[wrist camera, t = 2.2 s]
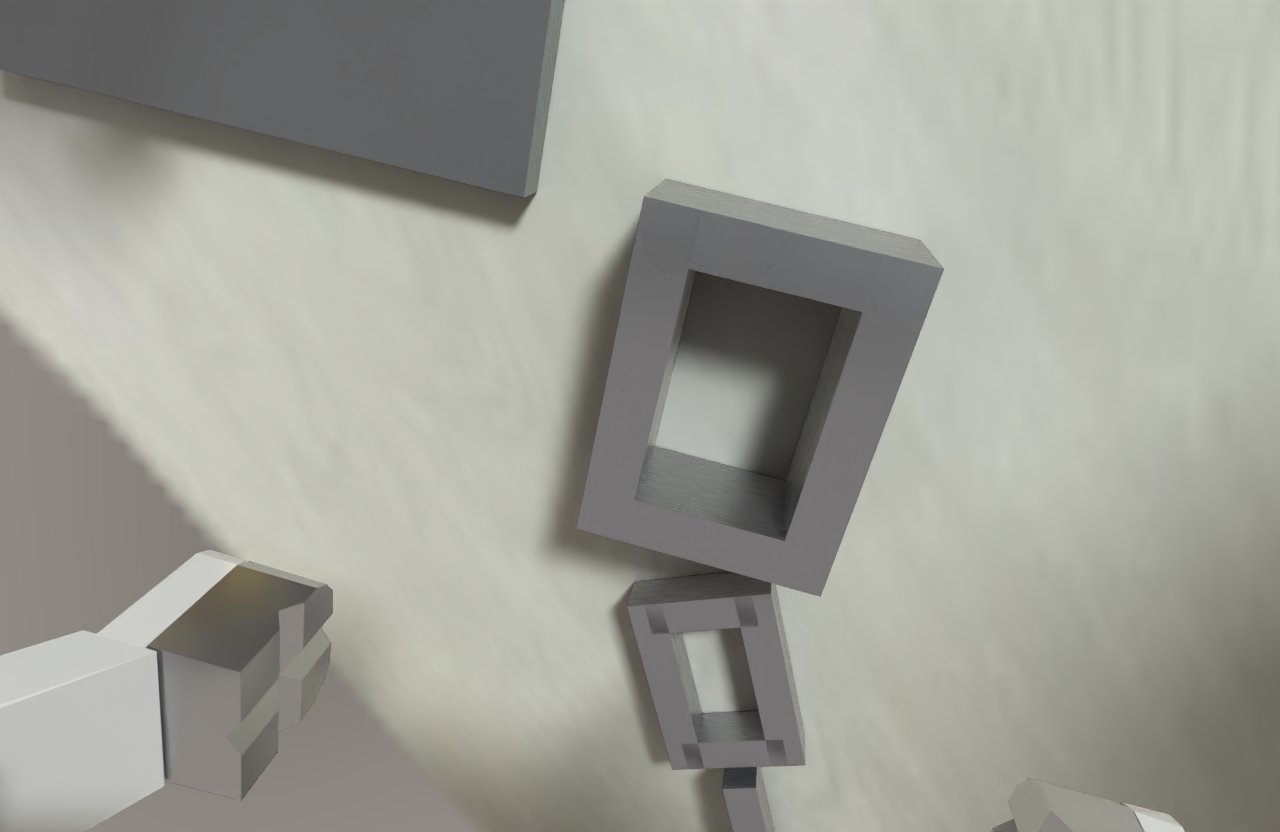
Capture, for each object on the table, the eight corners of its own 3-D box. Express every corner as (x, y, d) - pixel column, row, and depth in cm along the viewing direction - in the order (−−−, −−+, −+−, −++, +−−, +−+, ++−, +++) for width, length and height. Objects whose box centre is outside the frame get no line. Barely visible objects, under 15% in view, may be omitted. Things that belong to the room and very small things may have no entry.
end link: (920, 240, 18) (944, 268, 15) (816, 530, 21) (820, 596, 18) (665, 178, 18) (644, 196, 16) (603, 472, 22) (576, 528, 19)
